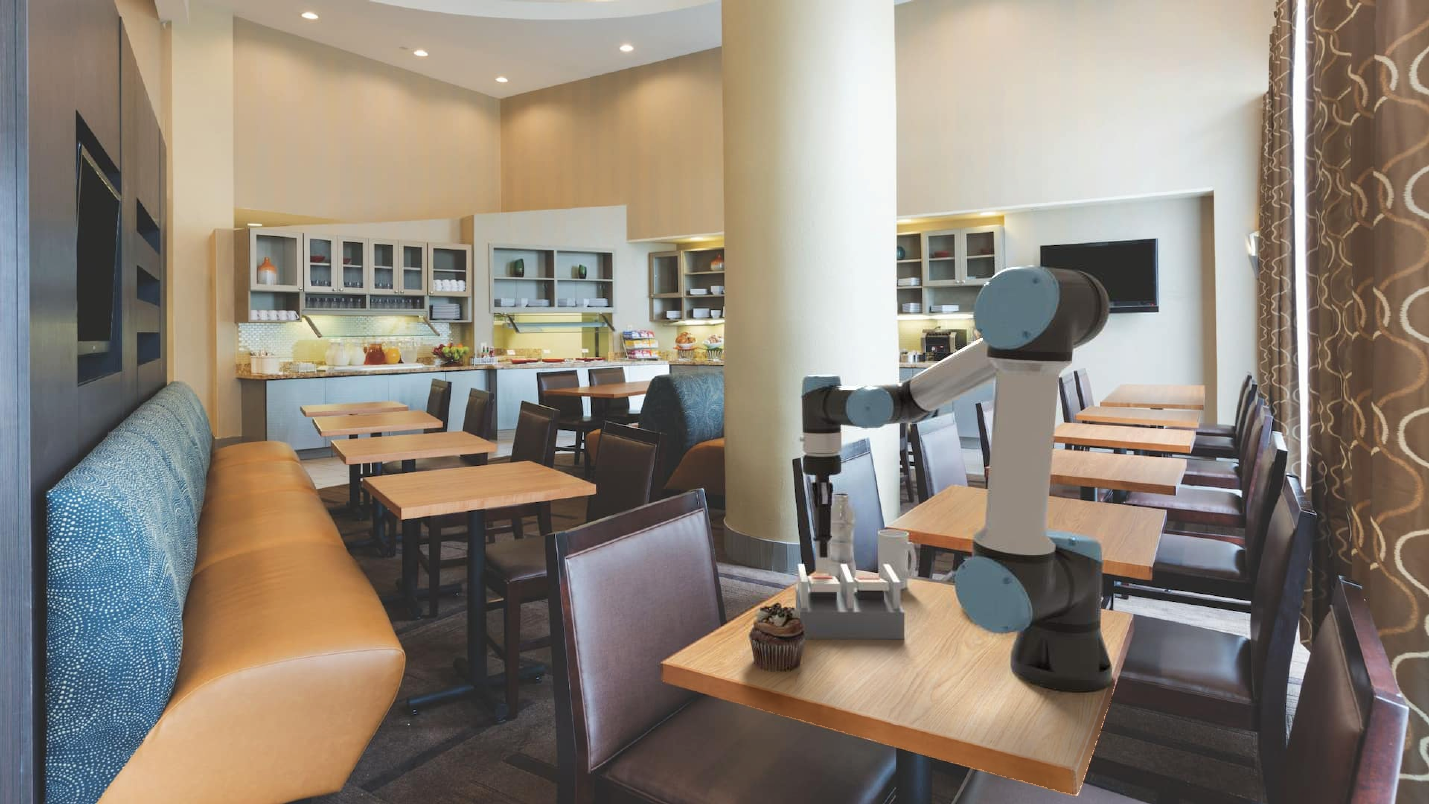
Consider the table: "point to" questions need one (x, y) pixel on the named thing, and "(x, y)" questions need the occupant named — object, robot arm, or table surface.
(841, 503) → the plastic bottle
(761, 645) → the cupcake
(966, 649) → the table surface
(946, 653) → the table surface
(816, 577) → the block
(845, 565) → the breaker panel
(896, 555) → the mug
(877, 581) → the breaker
